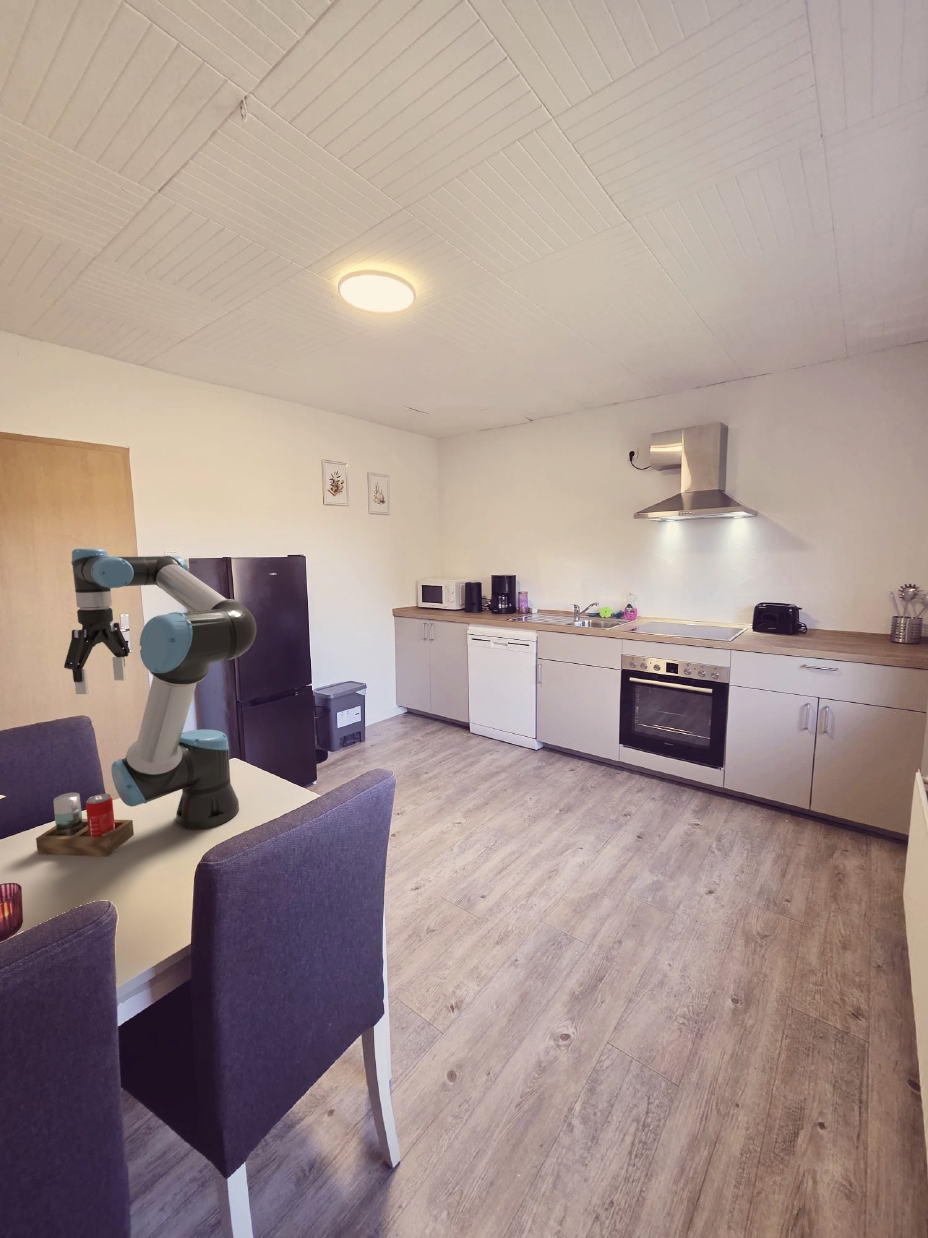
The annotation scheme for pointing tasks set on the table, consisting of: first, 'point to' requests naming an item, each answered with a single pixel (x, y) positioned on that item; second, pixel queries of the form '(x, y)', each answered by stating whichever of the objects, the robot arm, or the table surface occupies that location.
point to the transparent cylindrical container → (68, 814)
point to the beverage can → (100, 815)
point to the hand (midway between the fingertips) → (102, 686)
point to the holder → (85, 841)
